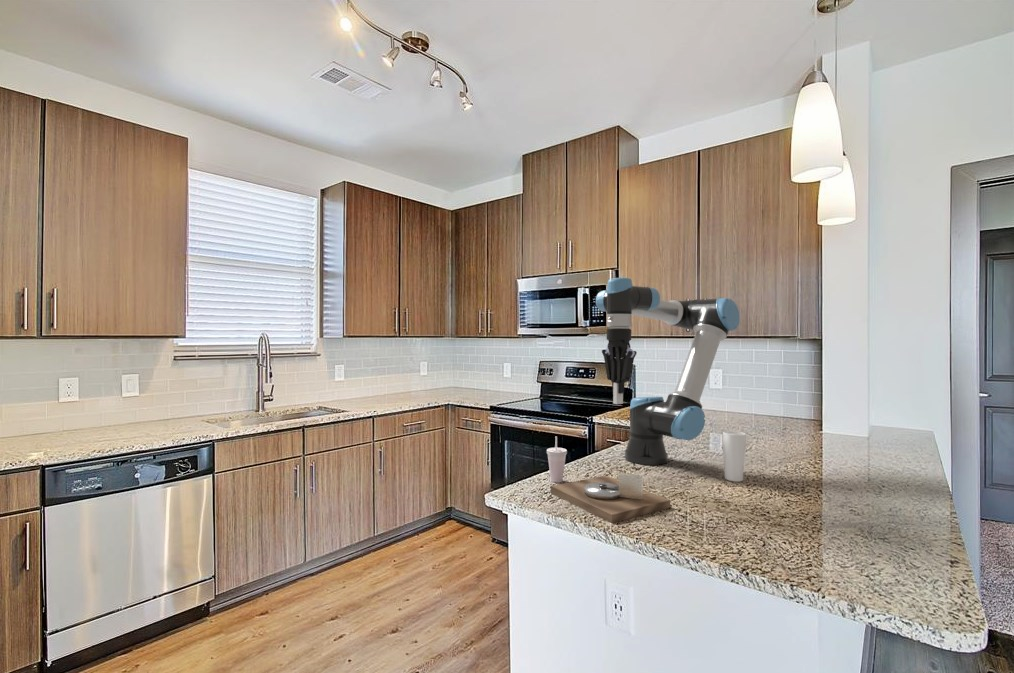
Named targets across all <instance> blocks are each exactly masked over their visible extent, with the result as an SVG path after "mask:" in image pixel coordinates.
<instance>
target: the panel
mask: <svg viewBox="0 0 1014 673" xmlns="http://www.w3.org/2000/svg"><path fill="white" fill-rule="evenodd" d="M593 482H605V483H611V484H615V485H617V486H619V479H616V478H613V477H610V476H608V475H601V476H596V477H591V478H586V479H579V480H575V481H571V482H566V483H559V484H555V485H550V494H552V495H553V496H556V497H557V498H561V500H565V501H566V502H568V503H569V504H570V503H571V504H572V505H574V506H575V507H578V508H580V509H582V510H584V511H587V512H589V513H591V515H594V516H597V517H599V518H601V519H602V520H605V521H607V522H609V523H611V524H614V523H616V522H620V521H624V520H628V519H632V518H636V517H638V516H643V515H648V514H650V513H655V512H659V511H662V510H666V509H670V508H671V499H668V498H666V497H664V496H661V495H657V494H655V493H653V492H650V491H647V490H645V489H643V497H642V500H638V499H631V498H624V497H619V498H617V499H610V500H604V499H596V498H592V497H589V496H587V495H586V494H585V493H584V487H585V485H586V484H588V483H593Z"/></svg>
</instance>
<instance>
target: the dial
mask: <svg viewBox="0 0 1014 673" xmlns="http://www.w3.org/2000/svg"><path fill="white" fill-rule="evenodd" d="M643 476H644V475H643V474H642V475H639V474H632V473H625V472H624V473H623V472H619V474H618V481H619V486H617V485H615V484H611V483H605V482H593V483H588V484H586V485H585V487H584V493H585V494H586V495H587V496H589V497H592V498H596V499H604V500H610V499H617V498H619V497H624V498H631V499H638V500H642V497H643V490H644V489H643V488H644V487H643V483H644V480H643V479H644V478H643Z"/></svg>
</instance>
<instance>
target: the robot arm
mask: <svg viewBox="0 0 1014 673" xmlns="http://www.w3.org/2000/svg"><path fill="white" fill-rule="evenodd" d="M660 294H661V293H660V292H659V291H658V289H656V288H655V287H650V286H640V285H639V286H638V285H637V286H636V285H633V280H632V279H631V278H629V277H614V278H610V279H608V281H607V287H606V289H605V290H600V291H599V292H598V293H597V294H596V296H595V305H596V307H597V310H599V311H601V312H606V327H608V328H607V329H606V340H607V341H608V343H607V346H606V348H605V349H602V350H601V353H602V355H603V359H604V366H605V374H606V378H607V380H609V381H611V386H612V387H611V392H612V395H613V396H612V400H613V402H612V404H614V405H622V404H624V393H625V383H627V382H630V381H631V378H632V377H631V375H632V372H633V366H634V361H635V357H636V356H637V351H636V350H633V349H632V348H631V344H630V341H631V340H632V329H631V327H632V316H636V317H641V318H646V319H651V320H657V321H663V322H664V323H665V324H667V325H668V326H674V327H677V328H681V329H687V330H689V331H690V330H691V331H694V333H695V334H694V337H693V339H692V340H693V341H692V342H691V345H690V348H689V350H688V354H687V357H686V359H685V362H684V364H683V368H682V371H681V373H680V376H679V377H678V381H677V384H676V386H675V390H674V391H673V392H671V393H669V394H668V395H667V398H666V401H665V399H664V397H663V396H641V397H634V398H632V399H631V400H630V407H629V439H628V443H627V446H626V449H625V450H624V459H625V460H626V461H627V462H631V463H634V464H638V465H639V464H640V465H649V466H651V465H652V466H654V465H664V464H666V463H668V459H669V456H668V453H667V450H666V446H665V443H664V436H665V437H670V438H673V439H676V440H680V441H681V440H684V441H692V440H693V439H696V438H697V437H699V436H700V435H701V433H702V432H703V430H704V428H705V423H706V419H705V418H706V414H705V411H704V410H703V405H702V403H701V401H700V400H701V397H702V395H703V391H704V389H705V386H706V384H707V380H708V377H709V374H710V372H711V369H712V366H713V362H714V361H715V358H716V355H717V351H718V348H719V345H720V343H721V341H724V340H725V339H727V336H728V334H729V331H730V332H732V331H735V330H736V329H737V328H738V327H739V325H740V322H741V321H740V320H741V319H740V318H741V317H740V311H739V308H738V306H737V304H736V302H735V301H734V300H733V299H731V298H725V297H723V298H722V297H717V298H708V299H707V298H705V299H689V300H675V299H671V300H669V301H668V300H664V299H661V295H660Z"/></svg>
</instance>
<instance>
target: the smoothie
mask: <svg viewBox="0 0 1014 673" xmlns="http://www.w3.org/2000/svg"><path fill="white" fill-rule="evenodd" d="M554 438H555V444H554V447H549V448H547V449H546V455H547V459H548V460H547V461H548V467H549V468H548V469H549V470H548V471H549V477H550V478H549V479H550V482H552V483H556V484H557V483H559V484H560V483H562V482H563V480H564V471H565V464H566V458H567V454H568V450H567V449H566V448H563V447H558V436H555V437H554Z"/></svg>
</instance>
